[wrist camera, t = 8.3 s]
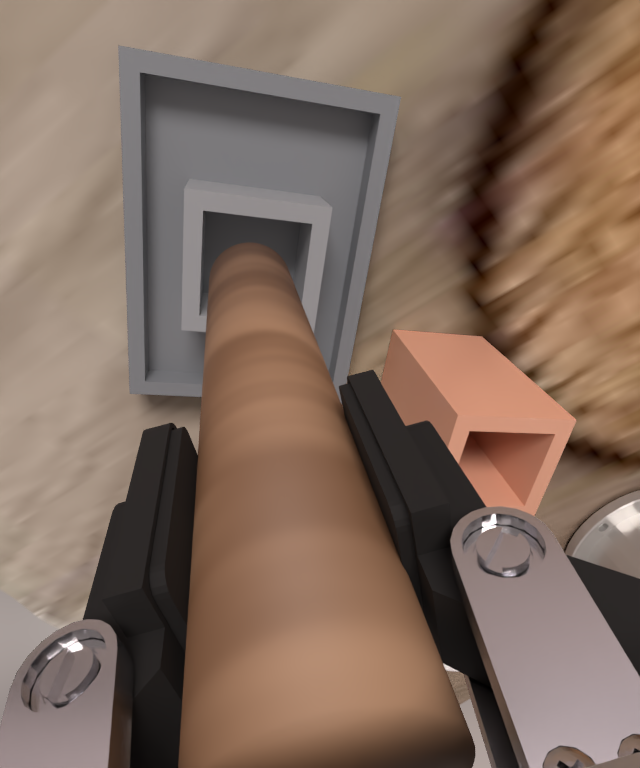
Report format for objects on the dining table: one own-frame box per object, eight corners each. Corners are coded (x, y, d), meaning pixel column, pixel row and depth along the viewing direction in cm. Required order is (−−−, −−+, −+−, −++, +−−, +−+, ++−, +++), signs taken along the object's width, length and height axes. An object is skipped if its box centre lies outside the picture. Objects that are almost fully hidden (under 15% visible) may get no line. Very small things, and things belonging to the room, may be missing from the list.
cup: (456, 416, 35) (533, 518, 26) (374, 413, 33) (425, 518, 25) (481, 336, 32) (576, 420, 23) (392, 329, 31) (458, 415, 22)
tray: (335, 384, 32) (350, 422, 28) (136, 373, 29) (122, 413, 25) (386, 98, 25) (416, 95, 21) (128, 51, 22) (107, 38, 18)
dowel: (285, 323, 21) (432, 837, 6) (207, 317, 20) (173, 880, 6) (295, 247, 19) (515, 692, 5) (211, 237, 19) (178, 725, 4)
